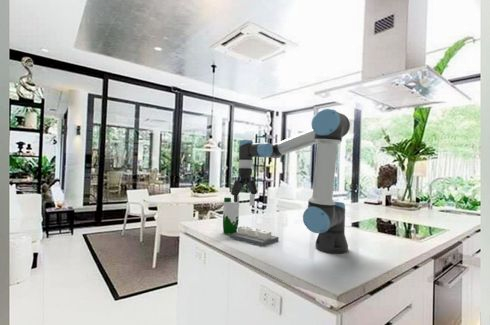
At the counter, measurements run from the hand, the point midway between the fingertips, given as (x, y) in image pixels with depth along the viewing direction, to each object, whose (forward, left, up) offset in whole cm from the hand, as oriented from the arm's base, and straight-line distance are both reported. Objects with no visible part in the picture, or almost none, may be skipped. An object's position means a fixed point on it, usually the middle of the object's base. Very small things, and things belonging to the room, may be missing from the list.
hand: (244, 206), depth 151 cm
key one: (-14, 0, -15) cm, 20 cm away
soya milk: (+12, -2, -17) cm, 21 cm away
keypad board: (-7, 0, -16) cm, 18 cm away
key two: (-7, 0, -15) cm, 16 cm away
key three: (0, 0, -15) cm, 15 cm away
